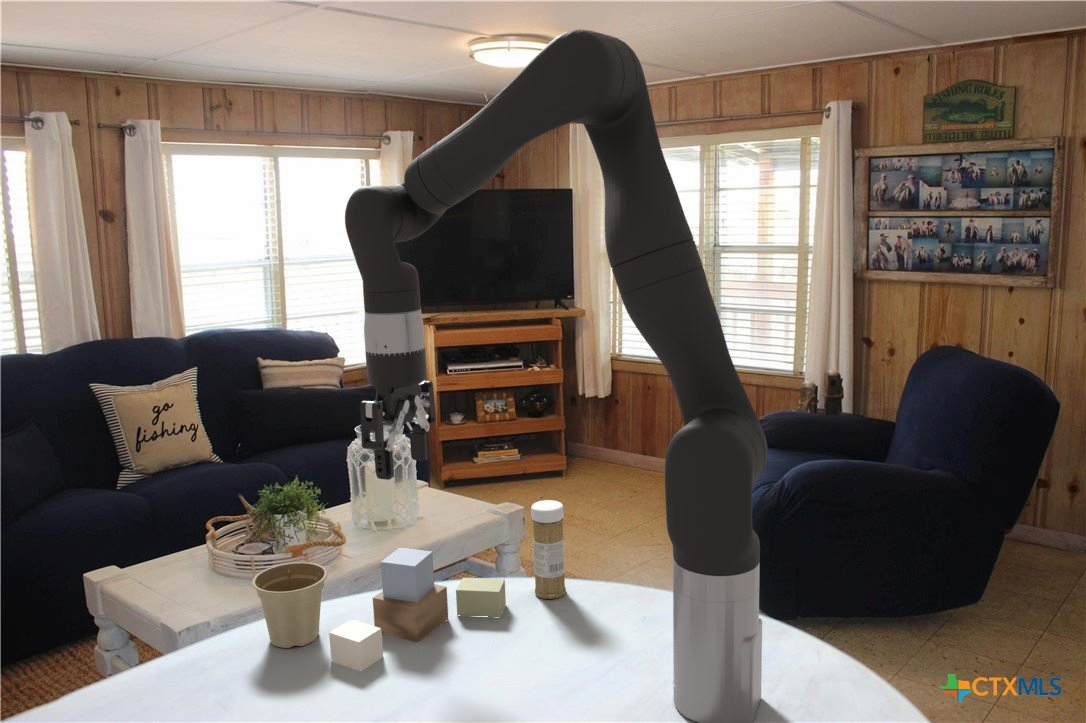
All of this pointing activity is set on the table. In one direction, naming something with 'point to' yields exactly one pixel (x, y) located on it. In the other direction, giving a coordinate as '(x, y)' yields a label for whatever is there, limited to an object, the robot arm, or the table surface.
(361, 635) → the cream block
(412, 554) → the slate block
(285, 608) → the flower pot
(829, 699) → the table surface
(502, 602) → the olive block
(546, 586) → the sprinkles bottle
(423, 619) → the walnut block
